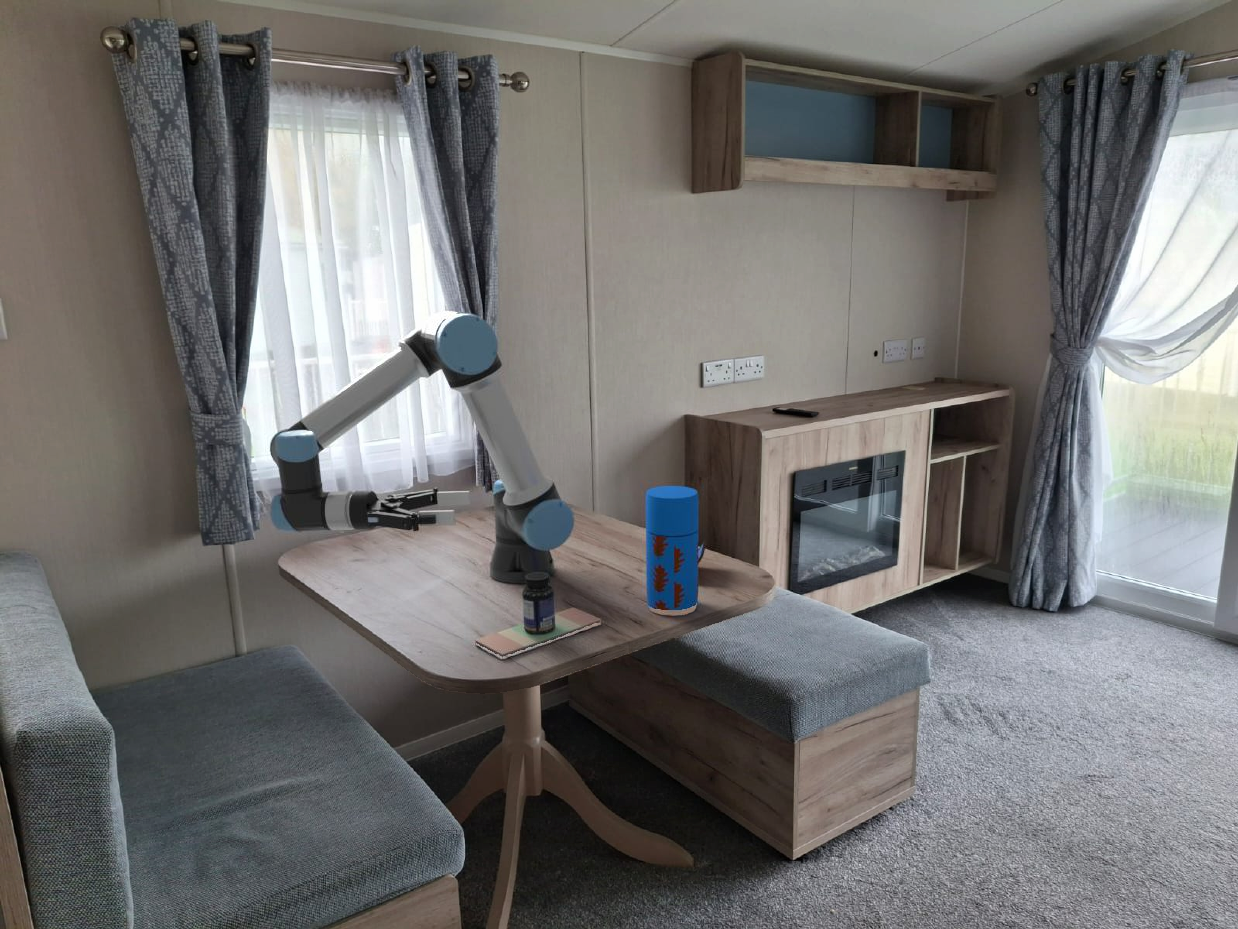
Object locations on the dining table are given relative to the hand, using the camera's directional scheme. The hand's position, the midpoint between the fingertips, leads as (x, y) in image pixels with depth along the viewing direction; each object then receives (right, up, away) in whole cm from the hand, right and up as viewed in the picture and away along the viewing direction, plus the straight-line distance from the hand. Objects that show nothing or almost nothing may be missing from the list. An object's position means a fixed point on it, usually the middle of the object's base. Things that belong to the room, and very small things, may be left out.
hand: (462, 507), depth 173 cm
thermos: (+41, -22, +17) cm, 50 cm away
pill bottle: (+15, -24, +3) cm, 28 cm away
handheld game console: (+45, -18, +36) cm, 60 cm away
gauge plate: (+15, -25, +3) cm, 29 cm away
